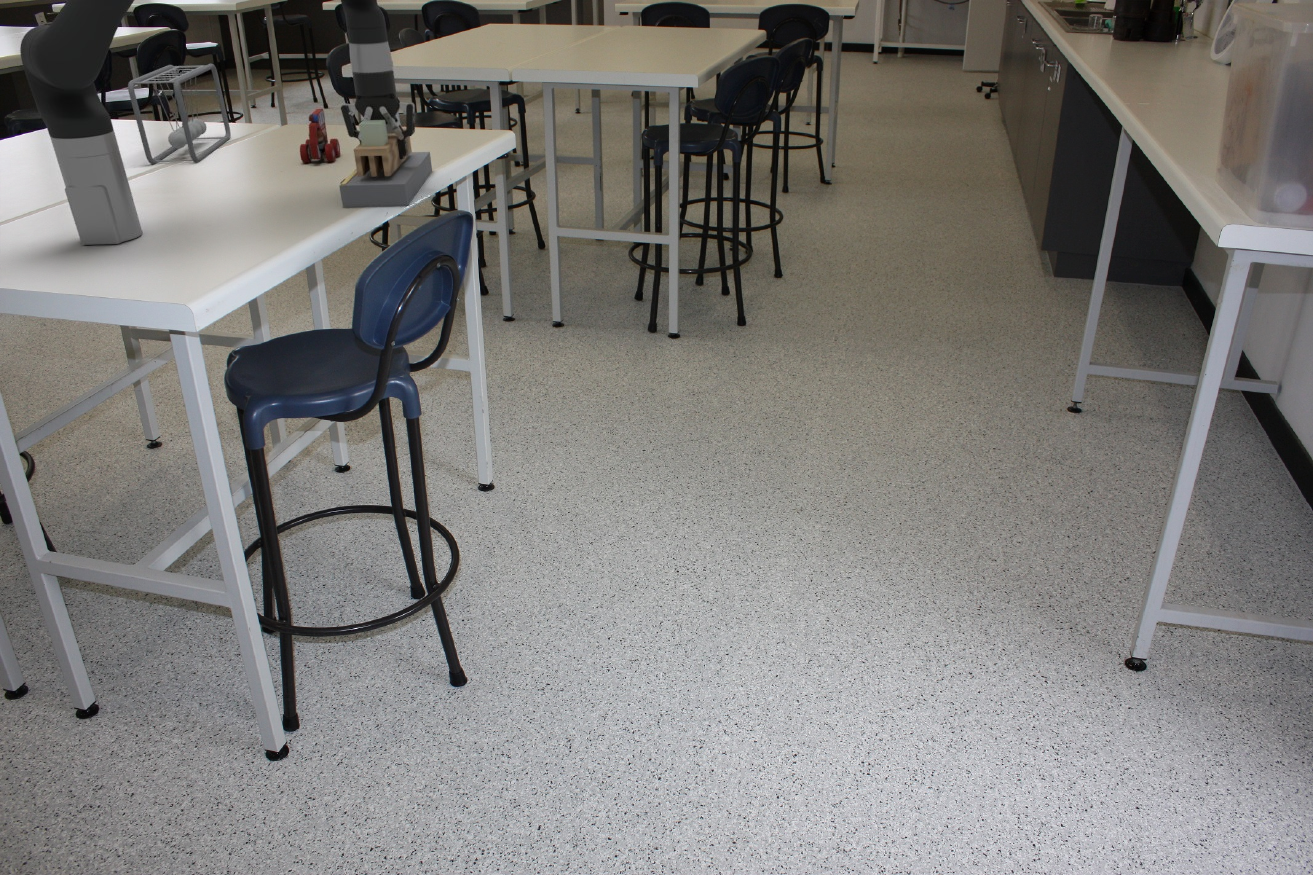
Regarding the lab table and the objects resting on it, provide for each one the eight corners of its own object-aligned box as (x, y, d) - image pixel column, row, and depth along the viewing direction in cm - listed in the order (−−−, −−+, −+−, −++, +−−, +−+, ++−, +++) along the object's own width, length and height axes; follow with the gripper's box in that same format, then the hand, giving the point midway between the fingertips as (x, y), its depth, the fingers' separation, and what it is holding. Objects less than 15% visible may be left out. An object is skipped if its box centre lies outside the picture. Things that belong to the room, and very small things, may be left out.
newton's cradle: (197, 164, 211) (176, 80, 202) (147, 166, 210) (125, 82, 201) (232, 138, 237) (215, 62, 228) (189, 139, 236) (170, 63, 227)
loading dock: (407, 205, 177) (404, 183, 175) (337, 207, 177) (333, 184, 175) (432, 171, 202) (429, 151, 199) (370, 172, 201) (367, 152, 199)
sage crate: (383, 146, 177) (380, 123, 175) (362, 146, 177) (358, 124, 175) (388, 141, 181) (385, 120, 179) (367, 142, 180) (363, 120, 179)
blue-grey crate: (397, 133, 188) (394, 112, 186) (376, 133, 188) (373, 112, 186) (400, 129, 192) (398, 108, 190) (380, 129, 192) (377, 109, 190)
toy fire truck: (299, 167, 207) (290, 117, 202) (312, 154, 218) (303, 107, 213) (332, 165, 208) (323, 116, 203) (343, 153, 219) (335, 106, 214)
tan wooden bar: (390, 176, 177) (386, 148, 175) (357, 177, 177) (353, 149, 175) (411, 151, 196) (408, 126, 194) (382, 152, 196) (379, 127, 194)
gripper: (328, 71, 175) (344, 164, 183) (407, 70, 175) (419, 162, 183) (338, 66, 181) (353, 155, 189) (414, 64, 182) (425, 154, 190)
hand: (385, 158), depth 186 cm, fingers closed on tan wooden bar, 6 cm apart
